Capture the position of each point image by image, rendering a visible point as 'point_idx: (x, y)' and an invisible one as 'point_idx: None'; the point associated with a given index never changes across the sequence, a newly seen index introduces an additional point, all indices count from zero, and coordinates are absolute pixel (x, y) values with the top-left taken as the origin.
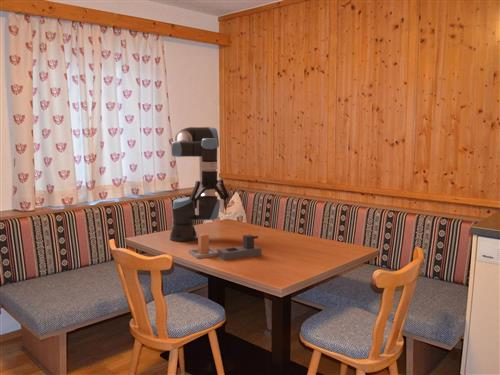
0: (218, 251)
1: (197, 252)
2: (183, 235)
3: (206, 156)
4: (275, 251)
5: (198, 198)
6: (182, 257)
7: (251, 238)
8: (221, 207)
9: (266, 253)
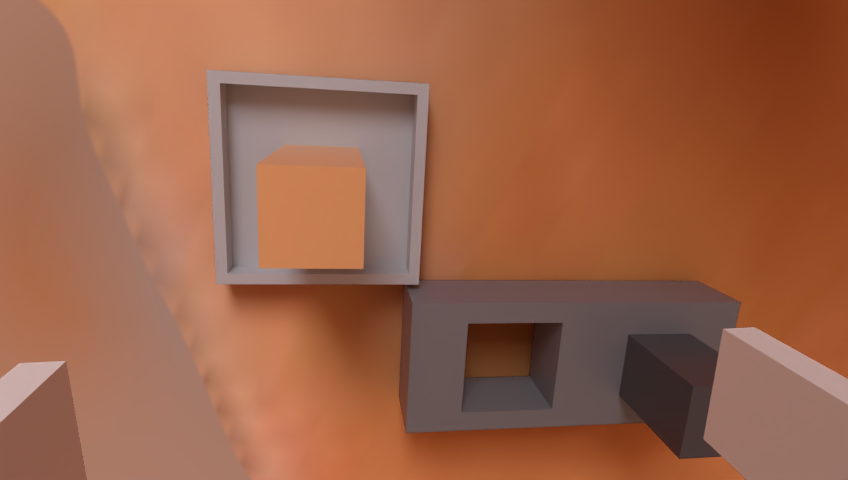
0: (409, 317)
1: (294, 100)
2: None
3: None
4: (828, 318)
5: None
6: (127, 144)
7: None
8: (804, 459)
9: None
